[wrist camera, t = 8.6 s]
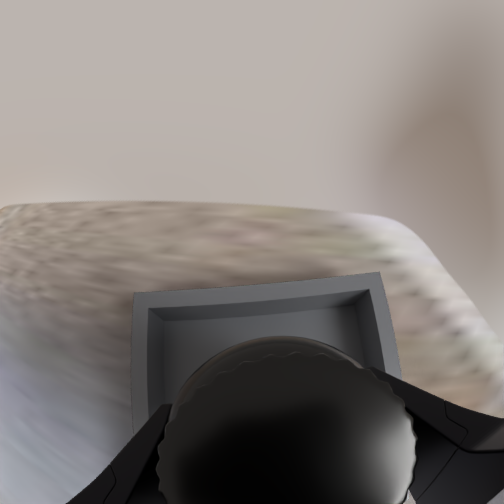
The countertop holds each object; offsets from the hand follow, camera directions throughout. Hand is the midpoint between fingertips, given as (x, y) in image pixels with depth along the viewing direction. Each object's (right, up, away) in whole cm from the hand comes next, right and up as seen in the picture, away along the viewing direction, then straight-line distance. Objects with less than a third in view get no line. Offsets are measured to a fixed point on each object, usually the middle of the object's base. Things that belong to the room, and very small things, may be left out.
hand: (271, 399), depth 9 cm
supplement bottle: (0, -5, +5) cm, 7 cm away
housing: (0, -5, +7) cm, 9 cm away
